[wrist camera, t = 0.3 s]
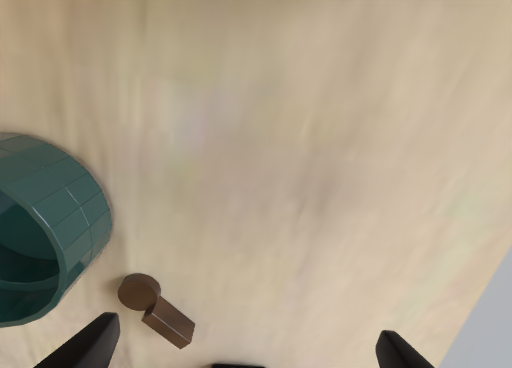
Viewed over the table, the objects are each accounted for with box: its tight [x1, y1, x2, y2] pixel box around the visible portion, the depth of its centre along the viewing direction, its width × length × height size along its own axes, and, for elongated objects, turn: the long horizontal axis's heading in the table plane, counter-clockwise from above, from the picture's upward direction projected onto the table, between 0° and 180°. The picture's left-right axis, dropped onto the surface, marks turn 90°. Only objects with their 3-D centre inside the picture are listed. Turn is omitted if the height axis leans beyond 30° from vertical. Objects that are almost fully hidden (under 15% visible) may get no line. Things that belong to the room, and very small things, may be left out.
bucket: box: [0, 133, 112, 328], centre depth 20 cm, size 13×13×6 cm
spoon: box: [118, 274, 195, 349], centre depth 26 cm, size 9×4×2 cm, turn 39°
